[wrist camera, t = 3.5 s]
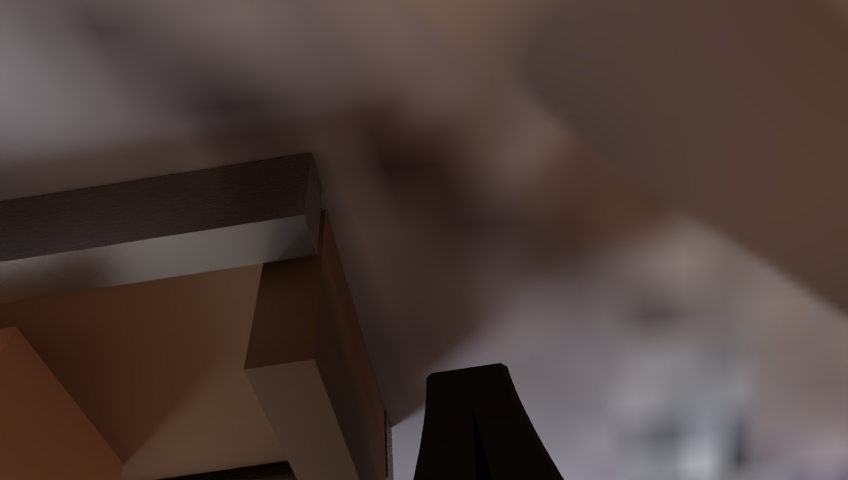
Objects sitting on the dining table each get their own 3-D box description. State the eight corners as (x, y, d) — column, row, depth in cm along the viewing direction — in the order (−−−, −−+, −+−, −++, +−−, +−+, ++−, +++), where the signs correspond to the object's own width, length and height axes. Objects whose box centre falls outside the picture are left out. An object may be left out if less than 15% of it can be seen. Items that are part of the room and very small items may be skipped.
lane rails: (-143, 507, 17) (-190, 579, 15) (-459, 274, 12) (-572, 352, 10) (391, 429, 16) (394, 496, 15) (311, 152, 11) (303, 214, 10)
